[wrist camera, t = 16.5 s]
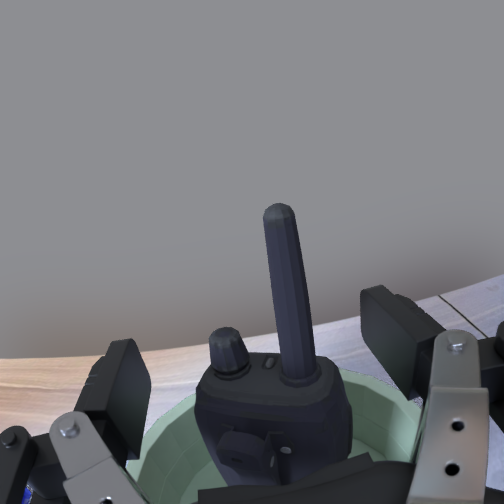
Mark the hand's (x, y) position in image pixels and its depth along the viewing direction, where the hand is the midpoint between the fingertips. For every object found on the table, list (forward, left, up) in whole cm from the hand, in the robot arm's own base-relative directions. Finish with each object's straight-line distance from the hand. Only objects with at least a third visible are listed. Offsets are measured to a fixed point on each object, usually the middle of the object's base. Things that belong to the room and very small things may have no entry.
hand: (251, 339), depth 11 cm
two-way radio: (-1, +2, -11) cm, 11 cm away
